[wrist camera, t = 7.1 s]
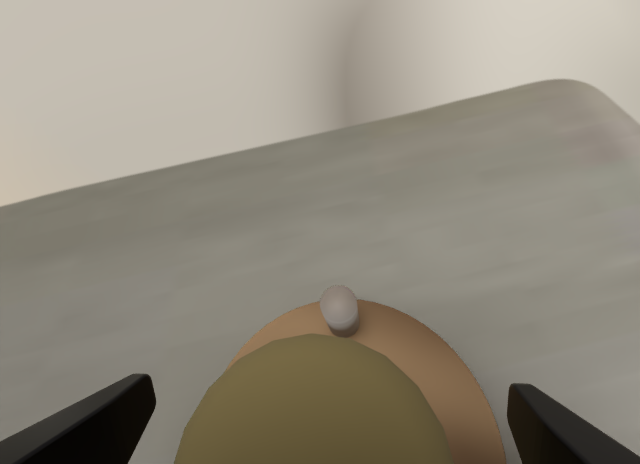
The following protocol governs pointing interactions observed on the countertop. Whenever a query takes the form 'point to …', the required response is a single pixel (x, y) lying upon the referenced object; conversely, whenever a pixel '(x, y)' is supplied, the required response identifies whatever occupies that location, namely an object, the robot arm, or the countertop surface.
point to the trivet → (402, 364)
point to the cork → (314, 409)
